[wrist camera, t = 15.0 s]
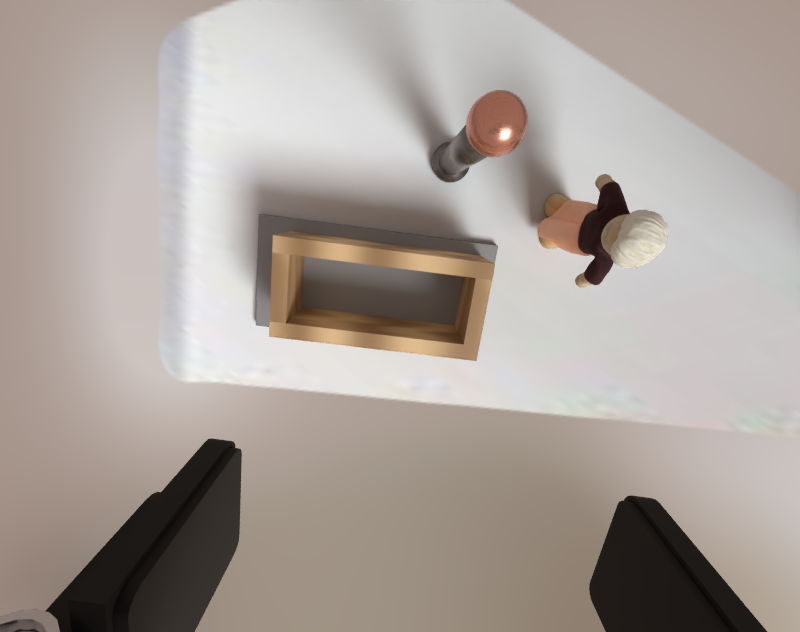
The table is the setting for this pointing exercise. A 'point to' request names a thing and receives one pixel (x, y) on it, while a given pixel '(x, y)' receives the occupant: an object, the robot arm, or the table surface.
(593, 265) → the grandmother figurine
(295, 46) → the table surface
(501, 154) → the post stand
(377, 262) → the open wooden frame
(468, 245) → the rubber mat
